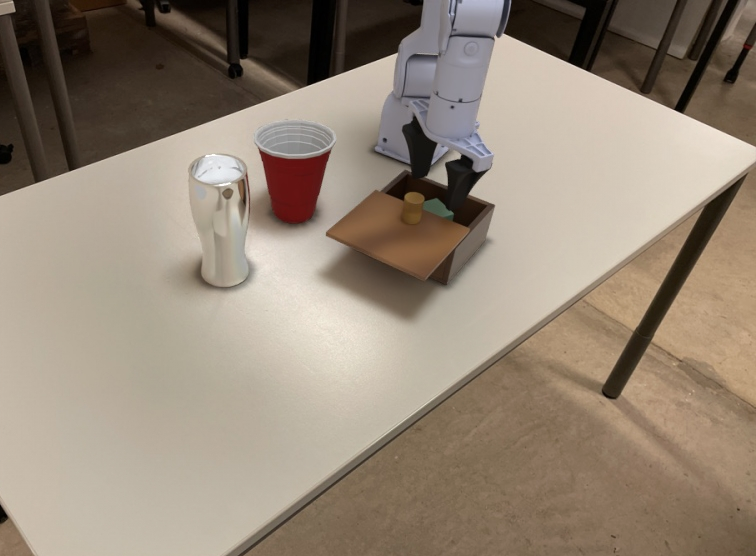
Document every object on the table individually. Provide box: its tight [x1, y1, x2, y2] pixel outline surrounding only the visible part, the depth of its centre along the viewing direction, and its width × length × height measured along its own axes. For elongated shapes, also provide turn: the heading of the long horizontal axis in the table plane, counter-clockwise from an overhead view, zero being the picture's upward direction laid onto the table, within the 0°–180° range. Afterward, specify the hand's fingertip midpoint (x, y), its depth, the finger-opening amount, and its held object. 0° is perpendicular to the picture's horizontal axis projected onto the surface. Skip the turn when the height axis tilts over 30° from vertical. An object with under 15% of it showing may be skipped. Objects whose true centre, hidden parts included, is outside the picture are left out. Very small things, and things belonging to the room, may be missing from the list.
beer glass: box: [187, 152, 251, 288], centre depth 79 cm, size 7×7×15 cm
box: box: [379, 169, 496, 286], centre depth 88 cm, size 14×12×6 cm
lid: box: [325, 189, 470, 282], centre depth 79 cm, size 14×12×4 cm
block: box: [423, 198, 454, 221], centre depth 89 cm, size 4×4×4 cm
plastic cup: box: [253, 118, 337, 224], centre depth 89 cm, size 11×11×12 cm
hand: (436, 191), depth 85 cm, fingers open, 7 cm apart
